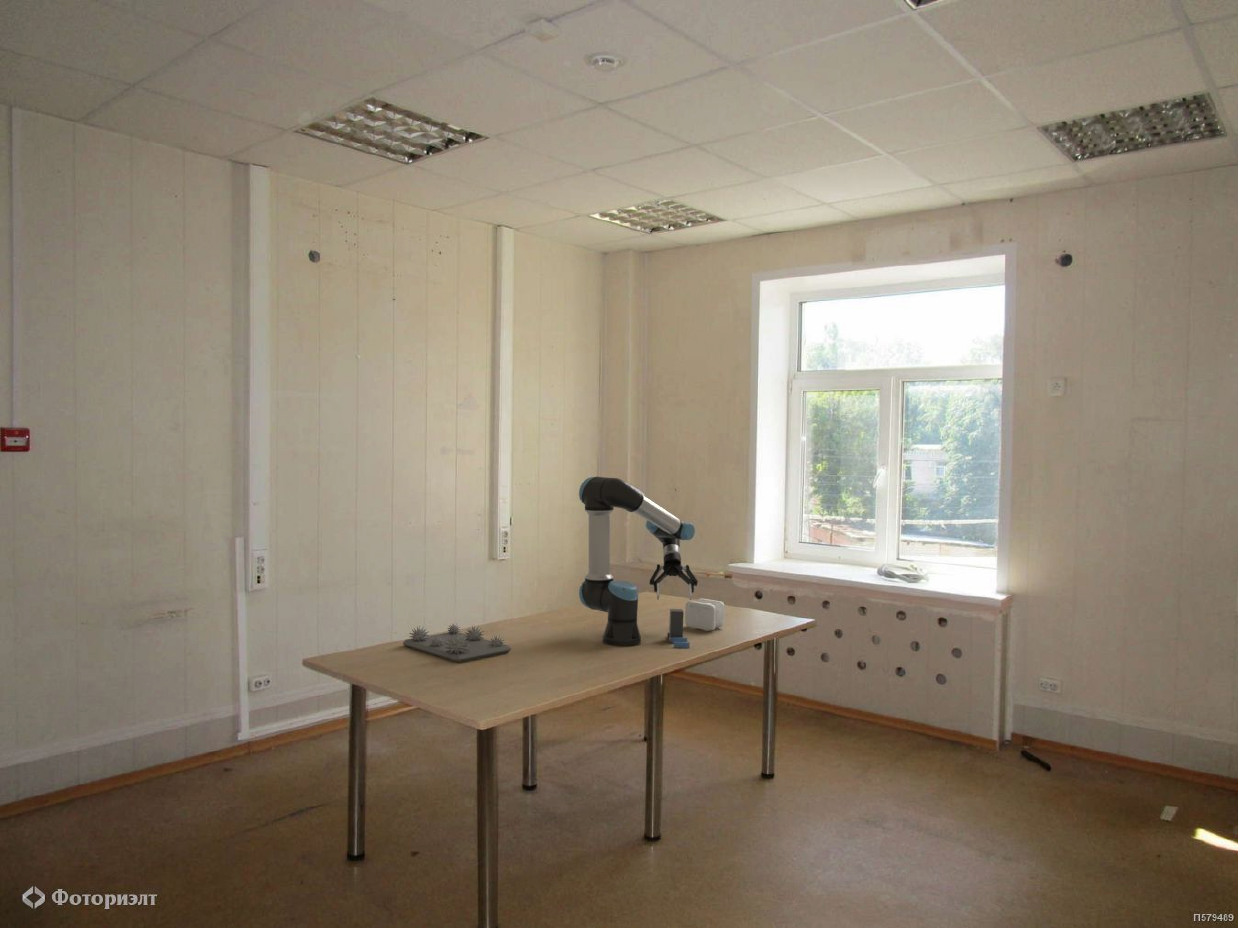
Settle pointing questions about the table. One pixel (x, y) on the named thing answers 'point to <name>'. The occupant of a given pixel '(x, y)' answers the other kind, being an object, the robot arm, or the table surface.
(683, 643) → the blue flat block
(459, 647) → the decorative tray
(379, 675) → the table surface
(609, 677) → the table surface
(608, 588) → the robot arm
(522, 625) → the table surface
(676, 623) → the dark grey rectangular block
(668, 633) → the pair of grey bars
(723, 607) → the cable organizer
